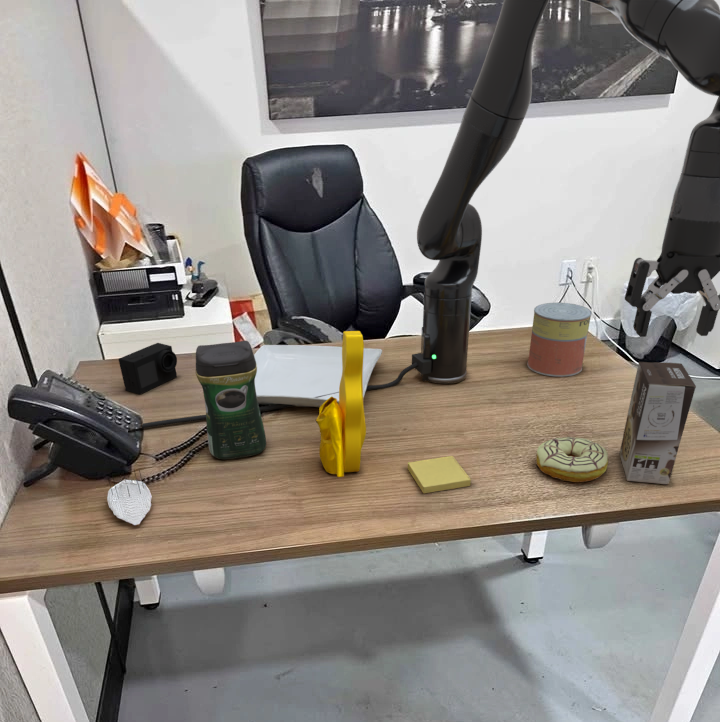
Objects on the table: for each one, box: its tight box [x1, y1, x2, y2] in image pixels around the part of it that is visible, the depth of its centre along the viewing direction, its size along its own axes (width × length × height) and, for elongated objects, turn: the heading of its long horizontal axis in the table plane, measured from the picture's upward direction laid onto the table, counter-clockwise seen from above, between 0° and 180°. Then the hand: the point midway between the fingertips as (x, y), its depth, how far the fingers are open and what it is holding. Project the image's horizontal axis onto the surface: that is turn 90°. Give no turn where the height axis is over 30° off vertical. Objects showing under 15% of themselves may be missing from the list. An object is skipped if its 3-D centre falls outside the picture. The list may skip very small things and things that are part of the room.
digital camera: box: [118, 342, 178, 395], centre depth 133 cm, size 10×5×7 cm, turn 148°
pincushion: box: [106, 469, 153, 526], centre depth 95 cm, size 12×6×6 cm, turn 25°
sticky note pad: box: [407, 455, 472, 494], centre depth 101 cm, size 8×8×1 cm
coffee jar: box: [195, 340, 267, 460], centre depth 106 cm, size 10×8×19 cm
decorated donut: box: [535, 436, 609, 483], centre depth 102 cm, size 10×11×4 cm
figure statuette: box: [315, 330, 367, 478], centre depth 100 cm, size 18×8×22 cm, turn 11°
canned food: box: [526, 302, 593, 378], centre depth 135 cm, size 11×11×12 cm
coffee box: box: [619, 361, 697, 485], centre depth 99 cm, size 9×6×16 cm
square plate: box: [253, 344, 383, 408], centre depth 132 cm, size 27×27×4 cm
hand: (670, 334), depth 92 cm, fingers open, 8 cm apart
